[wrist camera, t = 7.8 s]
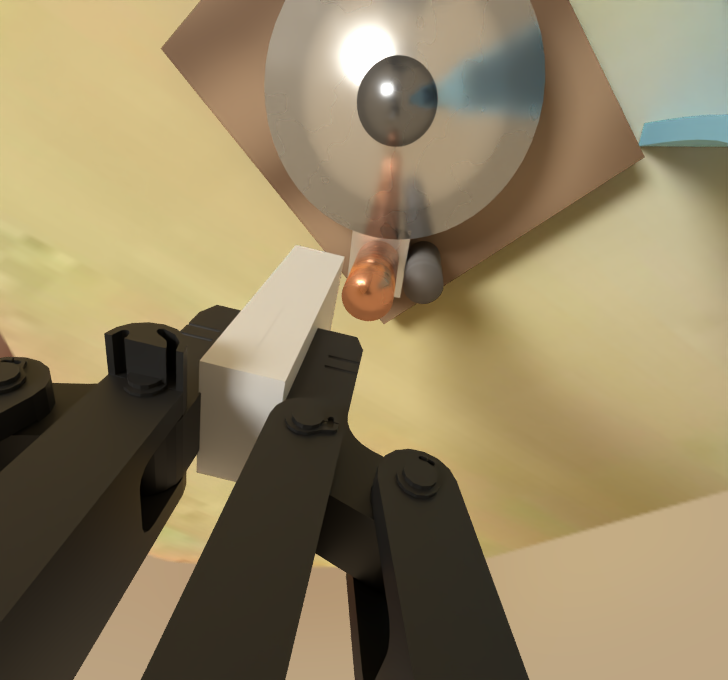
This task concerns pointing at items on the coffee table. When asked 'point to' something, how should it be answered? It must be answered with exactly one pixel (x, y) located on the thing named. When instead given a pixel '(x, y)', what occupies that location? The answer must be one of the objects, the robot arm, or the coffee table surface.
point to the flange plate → (450, 150)
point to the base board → (492, 223)
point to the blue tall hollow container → (687, 132)
